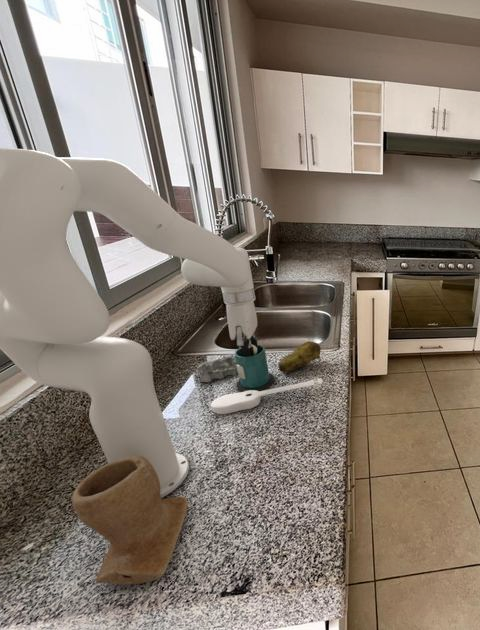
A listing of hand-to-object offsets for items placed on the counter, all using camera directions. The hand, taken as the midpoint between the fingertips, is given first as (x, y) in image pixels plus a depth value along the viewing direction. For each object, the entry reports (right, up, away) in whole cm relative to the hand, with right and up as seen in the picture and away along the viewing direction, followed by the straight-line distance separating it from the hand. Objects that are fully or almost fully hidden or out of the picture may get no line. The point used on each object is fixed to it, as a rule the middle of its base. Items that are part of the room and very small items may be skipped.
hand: (250, 355), depth 97 cm
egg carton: (-13, -7, +8) cm, 17 cm away
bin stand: (0, -9, +4) cm, 9 cm away
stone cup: (+2, -27, -40) cm, 48 cm away
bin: (0, -9, +4) cm, 9 cm away
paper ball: (0, +1, -1) cm, 2 cm away
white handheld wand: (+7, -12, -3) cm, 14 cm away
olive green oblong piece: (+10, -5, +12) cm, 17 cm away
